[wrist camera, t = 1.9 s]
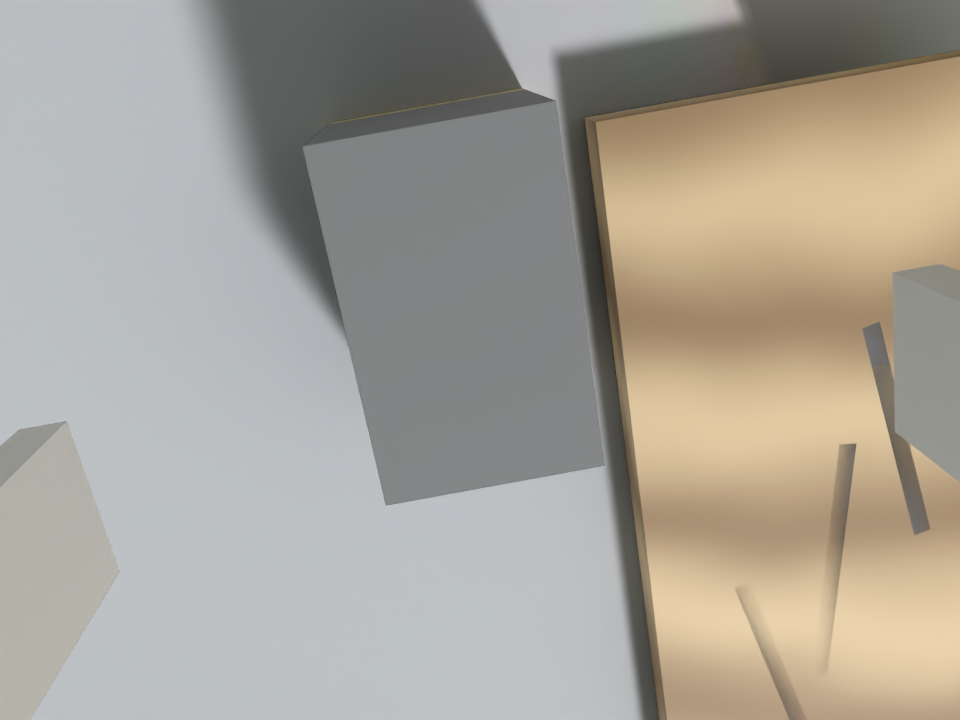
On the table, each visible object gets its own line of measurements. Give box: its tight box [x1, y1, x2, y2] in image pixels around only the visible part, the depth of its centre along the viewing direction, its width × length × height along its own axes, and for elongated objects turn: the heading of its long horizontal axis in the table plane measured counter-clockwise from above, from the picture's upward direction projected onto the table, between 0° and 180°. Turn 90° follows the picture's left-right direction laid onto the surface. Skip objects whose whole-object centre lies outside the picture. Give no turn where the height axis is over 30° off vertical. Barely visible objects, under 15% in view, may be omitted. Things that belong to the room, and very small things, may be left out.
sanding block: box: [302, 89, 605, 505], centre depth 21 cm, size 8×5×6 cm, turn 9°
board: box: [585, 50, 960, 720], centre depth 26 cm, size 24×12×2 cm, turn 9°
